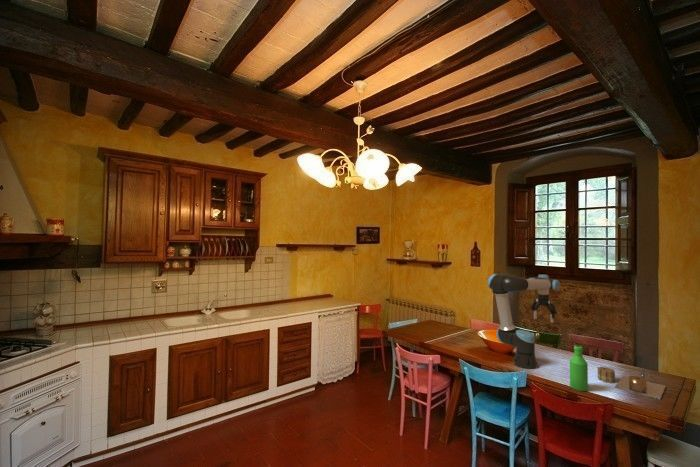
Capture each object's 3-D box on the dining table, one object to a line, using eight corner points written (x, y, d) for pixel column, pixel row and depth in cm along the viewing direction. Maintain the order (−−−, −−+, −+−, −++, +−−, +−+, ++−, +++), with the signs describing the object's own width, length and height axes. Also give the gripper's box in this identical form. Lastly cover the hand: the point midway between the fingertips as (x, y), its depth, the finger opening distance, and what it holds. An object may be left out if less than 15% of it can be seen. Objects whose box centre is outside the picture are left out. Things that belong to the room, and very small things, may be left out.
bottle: (580, 385, 202) (580, 344, 203) (591, 391, 194) (591, 348, 194) (566, 385, 202) (566, 344, 203) (576, 391, 193) (576, 348, 194)
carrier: (660, 400, 183) (659, 385, 184) (614, 387, 199) (614, 374, 199) (665, 387, 200) (665, 373, 200) (623, 376, 215) (623, 364, 215)
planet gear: (613, 384, 203) (613, 372, 204) (596, 379, 210) (596, 368, 210) (616, 380, 209) (616, 369, 209) (599, 376, 216) (599, 365, 216)
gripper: (562, 296, 255) (562, 323, 255) (531, 291, 277) (531, 316, 277) (556, 296, 252) (556, 324, 251) (525, 292, 274) (525, 317, 273)
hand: (543, 320), depth 264 cm, fingers open, 13 cm apart
